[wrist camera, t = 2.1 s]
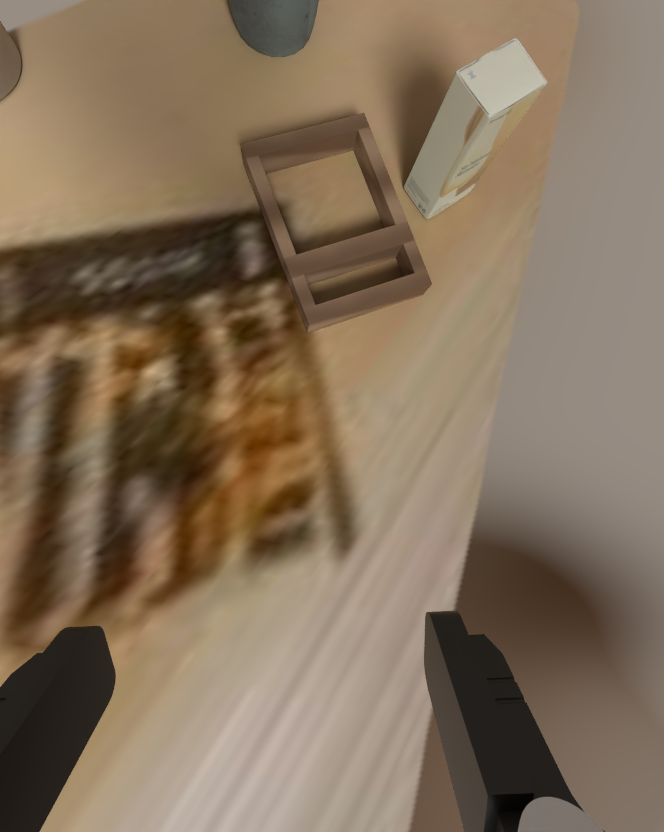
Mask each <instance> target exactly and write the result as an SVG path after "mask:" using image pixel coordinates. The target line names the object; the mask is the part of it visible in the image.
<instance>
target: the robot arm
mask: <svg viewBox="0 0 664 832" xmlns="http://www.w3.org/2000/svg"><path fill="white" fill-rule="evenodd" d="M20 72H21V57H20V54H19V51H18V48H17V46H16V45H15V43H14V42H13V40H12V38H11V37H10V35H9V34H8V32H7V31H6V29H5V28H4V27H3V25H2V23H1V22H0V100H1V99H3V98H4V97H5V96H6V95H7V94H8V93H10V92H11V90H12V89H13V88H14V86H15V85H16V83H17V81H18V79H19V76H20ZM424 666H425V675H426V681H427V686H428V691H429V695H430V698H431V702H432V706H433V710H434V714H435V718H436V721H437V726H438V730H439V733H440V737H441V741H442V745H443V749H444V753H445V757H446V761H447V765H448V769H449V773H450V777H451V781H452V785H453V789H454V792H455V796H456V800H457V804H458V808H459V812H460V816H461V820H462V823H463V828H464V831H465V832H605V831H603V830H602V829H601V828H600V827H599V826H598V825H597V823H596V822H595V821H594V820H593V819H592V818H590V817H589V816H588V815H587V814H586V813H585V812H584V811H583V810H582V808H581V807H580V806H579V805H578V803H577V802H576V800H575V799H574V797H573V796H572V794H571V792H570V791H569V789H568V787H567V785H566V783H565V781H564V779H563V777H562V775H561V773H560V771H559V768H558V766H557V764H556V763H555V760H554V758H553V756H552V754H551V752H550V750H549V748H548V746H547V744H546V742H545V740H544V738H543V736H542V734H541V732H540V730H539V728H538V726H537V724H536V721H535V719H534V718H533V715H532V713H531V711H530V709H529V707H528V705H527V703H525V701H524V697H523V695H522V693H521V691H520V689H519V687H518V685H517V683H516V682H515V681H514V677H513V675H512V672H511V670H510V668H509V666H508V664H507V662H506V660H505V658H504V656H503V654H502V653H501V652H500V651H499V650H498V649H497V647H495V645H494V644H493V643H492V642H491V641H490V640H489V639H488V638H487V637H486V636H485V635H484V634H481V635H468V632H467V630H466V628H465V625H464V623H463V620H462V618H461V616H460V614H459V612H458V611H441V612H427V613H426V617H425V647H424ZM115 678H116V675H115V669H114V665H113V662H112V658H111V655H110V651H109V648H108V644H107V641H106V637H105V634H104V631H103V629H102V628H101V627H100V626H86V627H67V628H65V629H63V630H62V631H60V632H59V634H58V635H57V636H56V637H55V638H54V640H53V641H52V642H51V643H50V645H49V646H48V647H47V648H46V650H45V651H44V652H43V653H37V654H36V655H34V656H33V657H32V658H31V659H29V660H28V661H27V662H26V663H24V664H23V665H22V666H21V667H20V668H18V669H17V670H16V671H15V672H13V673H12V674H11V675H10V676H9V677H8V679H7V680H6V681H5V682H4V683H3V685H2V686H1V687H0V832H39V831H40V829H41V828H42V826H43V824H44V822H45V820H46V818H47V817H48V815H49V813H50V811H51V809H52V807H53V805H54V804H55V802H56V800H57V798H58V796H59V794H60V792H61V791H62V789H63V787H64V785H65V783H66V781H67V779H68V778H69V776H70V774H71V772H72V770H73V768H74V766H75V765H76V763H77V761H78V759H79V757H80V755H81V753H82V752H83V750H84V748H85V746H86V744H87V742H88V741H89V739H90V737H91V735H92V733H93V731H94V729H95V728H96V726H97V724H98V722H99V720H100V718H101V716H102V715H103V713H104V711H105V709H106V707H107V705H108V703H109V701H110V699H111V697H112V694H113V690H114V686H115Z"/></svg>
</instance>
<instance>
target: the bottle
mask: <svg viewBox="0 0 664 832" xmlns="http://www.w3.org/2000/svg"><path fill="white" fill-rule="evenodd" d="M318 1H319V0H228V4H229V9H230V12H231V15H232V17H233V20H234V23H235V25H236V28H237V30H238V32H239V34H240V36H241V38H242V39H243V40H244V41H245V42H246V43H247V44H248V46H250V47H251V48H253V49H254V50H256V51H257V52H259V53H262V54H265V55H268V56H271V57H285V56H288V55H292V54H295V53H296V52H298V51H299V50H301V49H302V48H303V47H304V46H305V44H306V43H307V41H308V40H309V38H310V35H311V32H312V29H313V26H314V22H315V17H316V12H317V7H318Z"/></svg>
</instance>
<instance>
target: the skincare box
mask: <svg viewBox="0 0 664 832" xmlns="http://www.w3.org/2000/svg"><path fill="white" fill-rule="evenodd" d="M546 84H547V81H546V79H545V78H544V77H543V75H542V74H541V72H540V71H539V69H538V68H537V66H536V65H535V63H534V62H533V61H532V59H531V58H530V56H529V55H528V53H527V52H526V51H525V49H524V48H523V46H522V45H521V44H520V42H519V41H518V39H513V40H511V41H509V42H507V43H505V44H504V45H502V46H500V47H498V48H497V49H495V50H493V51H491V52H488V53H487V54H485V55H483V56H482V57H480V58H479V59H477V60H475V61H474V62H472V63H470V64H468V65H467V66H465V67H463V68H461V69H459V70H458V71H456V73H455V76H454V78H453V80H452V82H451V84H450V87H449V89H448V91H447V93H446V95H445V98H444V100H443V102H442V104H441V106H440V109H439V111H438V113H437V115H436V117H435V120H434V122H433V124H432V126H431V128H430V131H429V133H428V135H427V137H426V139H425V141H424V144H423V146H422V148H421V150H420V152H419V155H418V157H417V159H416V161H415V163H414V166H413V168H412V170H411V172H410V174H409V176H408V179H407V181H406V183H405V185H404V189H405V191H406V192H407V194H408V195H409V197H410V198H411V199H412V201H413V202H414V204H415V205H416V206H417V208H418V209H419V211H420V212H421V213H422V214H423V216H424V217H425V218H426V219H429V218H431V217H433V216H434V215H436V214H438V213H439V212H441V211H443V210H444V209H446V208H447V207H449V206H451V205H452V204H454V203H455V202H457V201H458V200H460V199H461V198H462V197H464V196H465V195H467V194H468V193H469V192H470V191H471V190H472V188H473V187H474V186H475V184H476V183H477V181H478V180H479V178H480V177H481V175H482V174H483V173H484V171H485V170H486V168H487V167H488V166H489V164H490V163H491V161H492V160H493V158H494V157H495V156H496V154H497V153H498V151H499V150H500V149H501V147H502V146H503V144H504V143H505V142H506V140H507V139H508V137H509V136H510V135H511V133H512V132H513V130H514V129H515V128H516V126H517V125H518V123H519V122H520V120H521V119H522V118H523V116H524V115H525V113H526V112H527V111H528V109H529V108H530V106H531V105H532V104H533V102H534V101H535V99H536V98H537V96H538V95H539V94H540V92H541V91H542V90H543V88H544V87H545V85H546Z"/></svg>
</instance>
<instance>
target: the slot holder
mask: <svg viewBox="0 0 664 832" xmlns="http://www.w3.org/2000/svg"><path fill="white" fill-rule="evenodd" d="M352 150H354V152H355V155H356V157H357V160H358V163H359V165H360V168H361V170H362V173H363V175H364V178H365V180H366V183H367V185H368V188H369V190H370V193H371V196H372V198H373V201H374V203H375V206H376V208H377V211H378V213H379V216H380V218H381V221H382V223H383V226H384V228H383V229H380V230H376V231H373V232H370V233H366V234H363V235H360V236H356V237H353V238H350V239H347V240H343V241H340V242H337V243H333V244H330V245H327V246H323V247H320V248H317V249H313V250H310V251H307V252H303V253H300V254H297V255H296V252H295V250H294V247H293V245H292V242H291V239H290V237H289V234H288V231H287V229H286V226H285V224H284V221H283V218H282V216H281V213H280V210H279V208H278V205H277V203H276V200H275V197H274V195H273V192H272V189H271V187H270V184H269V182H268V179H267V176H266V173H269V172H273V171H277V170H281V169H284V168H288V167H292V166H296V165H299V164H303V163H307V162H311V161H315V160H318V159H322V158H326V157H330V156H333V155H337V154H341V153H345V152H348V151H352ZM241 151H242V157H243V164H244V167H245V169H246V172H247V175H248V177H249V180H250V183H251V185H252V188H253V191H254V193H255V196H256V198H257V201H258V204H259V206H260V209H261V212H262V214H263V217H264V220H265V222H266V225H267V228H268V230H269V233H270V235H271V238H272V241H273V243H274V246H275V249H276V251H277V254H278V257H279V259H280V262H281V264H282V267H283V270H284V272H285V275H286V278H287V280H288V283H289V286H290V288H291V291H292V293H293V296H294V299H295V301H296V304H297V307H298V309H299V312H300V315H301V317H302V320H303V323H304V325H305V328H306V330H307V333H310V332H313V331H316V330H318V329H321V328H324V327H327V326H330V325H333V324H336V323H339V322H342V321H345V320H348V319H351V318H354V317H357V316H360V315H363V314H366V313H369V312H372V311H375V310H378V309H381V308H384V307H387V306H390V305H393V304H396V303H399V302H402V301H405V300H408V299H411V298H414V297H417V296H420V295H423V294H424V293H425V291H426V290H427V289H428V288H429V287H430V286H431V285H432V283H431V280H430V278H429V275H428V273H427V270H426V268H425V265H424V263H423V260H422V258H421V255H420V252H419V250H418V247H417V245H416V242H415V240H414V237H413V235H412V232H411V230H410V227H409V225H408V222H407V220H406V217H405V215H404V212H403V210H402V207H401V205H400V202H399V200H398V197H397V195H396V192H395V190H394V187H393V185H392V182H391V180H390V177H389V175H388V172H387V170H386V167H385V164H384V162H383V159H382V157H381V154H380V152H379V149H378V147H377V144H376V142H375V139H374V137H373V134H372V132H371V129H370V127H369V124H368V122H367V119H366V117H365V114H364V113H361V114H357V115H353V116H349V117H346V118H342V119H338V120H334V121H330V122H326V123H322V124H318V125H314V126H310V127H306V128H302V129H298V130H294V131H290V132H286V133H282V134H278V135H274V136H270V137H266V138H262V139H258V140H254V141H250V142H246V143H243V144H241ZM395 257H396V259H397V261H398V264H399V267H400V269H401V272H402V274H403V277H401V278H398V279H395V280H392V281H389V282H386V283H383V284H379V285H376V286H373V287H370V288H367V289H364V290H361V291H358V292H355V293H352V294H349V295H346V296H342V297H339V298H336V299H333V300H330V301H327V302H324V303H321V304H318V305H315V302H314V300H313V297H312V294H311V292H310V289H309V286H308V285H309V284H313V283H316V282H319V281H322V280H325V279H328V278H332V277H335V276H338V275H341V274H344V273H348V272H351V271H354V270H357V269H360V268H363V267H367V266H370V265H373V264H376V263H379V262H382V261H386V260H389V259H392V258H395Z"/></svg>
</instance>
